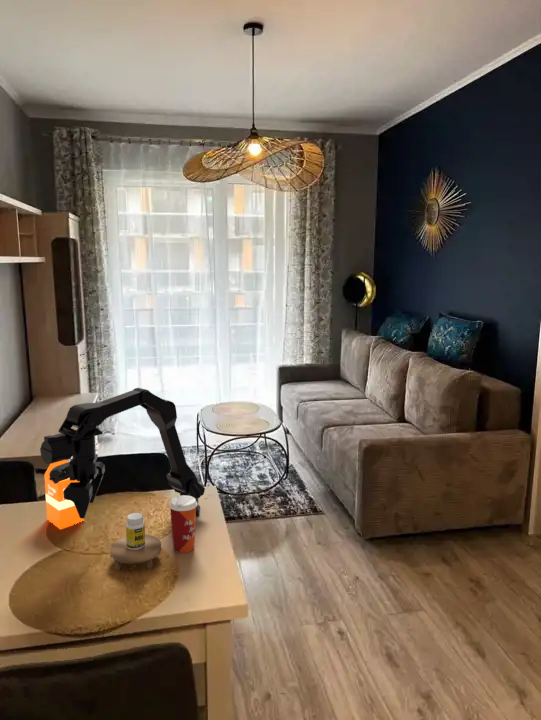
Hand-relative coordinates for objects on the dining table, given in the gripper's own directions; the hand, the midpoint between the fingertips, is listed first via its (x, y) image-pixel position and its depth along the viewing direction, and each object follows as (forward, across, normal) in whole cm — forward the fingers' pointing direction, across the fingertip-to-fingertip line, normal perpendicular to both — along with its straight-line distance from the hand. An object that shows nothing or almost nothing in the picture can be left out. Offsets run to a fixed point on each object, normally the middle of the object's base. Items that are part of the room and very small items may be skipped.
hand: (86, 510), depth 146 cm
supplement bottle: (+9, +3, +13) cm, 16 cm away
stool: (+13, +3, +13) cm, 19 cm away
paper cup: (+13, -3, +25) cm, 28 cm away
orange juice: (+13, -21, -12) cm, 28 cm away
